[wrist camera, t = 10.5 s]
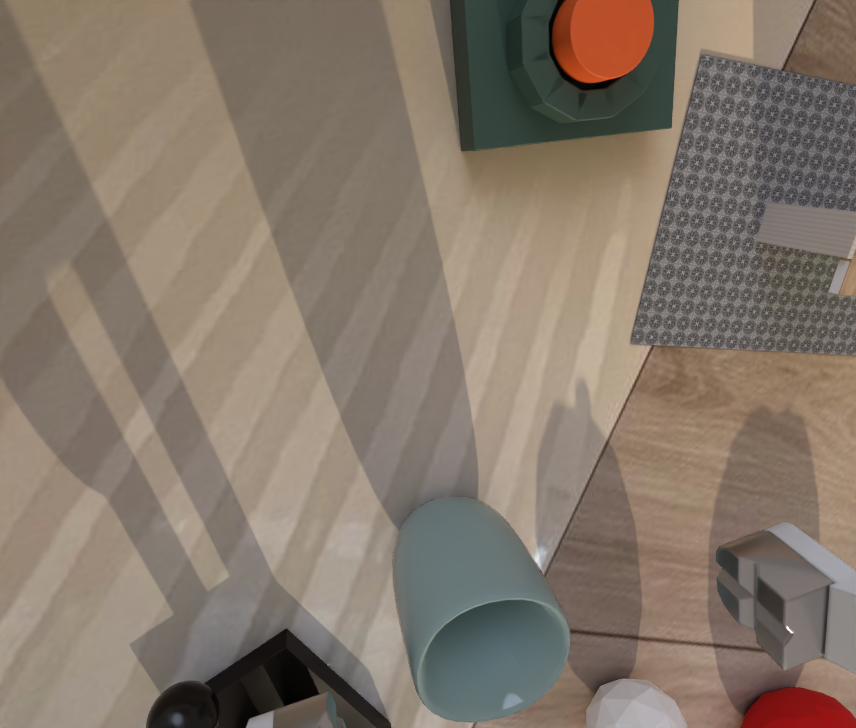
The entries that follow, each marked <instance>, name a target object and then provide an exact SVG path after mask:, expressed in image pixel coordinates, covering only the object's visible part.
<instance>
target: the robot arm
mask: <svg viewBox="0 0 856 728" xmlns="http://www.w3.org/2000/svg"><path fill="white" fill-rule="evenodd" d="M716 562H717V563H718V564H719V565H720V566H721V567H722V570H721V571H720V573H719V575H718V576H717V587H718V592H719V595H720V597H721V599H722V602H723V604H724V606H725V607H726V608H727V610H728V611H729V613H730V614H731V615H732V616H733V617H734V619H735V620H736V621H737V622H738V623H739V624H740V625H743V626H745V627H748V628H750V629H753V630H755V632H756V639H757V643H758V644H759V645H760V646H761V647H762V648H763V649H764V650H765V651H766V652H767V653H768V654H769V656H770V657H771V658H772V659H773V660H774V661H775V662H776V663H777V664H778V665H779V666H780V667H781V668H782V669H783V670H787V669H790V668H792V667H795V666H798V665H800V664H803V663H806V662H809V661H811V660H814V659H817V658H820V657H822V656H825V657H824V658H825V659H827V660H829V661H831V662H833V663H835V664H837V665H839V666H841V667H843V668H845V669H847V670H849V671H851V672H853V673H855V674H856V570H855V569H853V568H852V567H851V566H849V565H848V564H847V563H845V562H844V561H842V560H841V559H840V558H838V557H837V556H836V555H834V554H833V553H831V552H830V551H829V550H827V549H826V548H825V547H823V546H822V545H821V544H819V543H818V542H816V541H815V540H814V539H812V538H811V537H810V536H808V535H807V534H806V533H804V532H803V531H801V530H800V529H799V528H797V527H796V526H795V525H793V524H791V523H788V522H783V523H780V524H777V525H774V526H772V527H769V528H766V529H764V530H762V531H757V532H754V533H752V534H749V535H747V536H744V537H742V538H739V539H736V540H734V541H731V542H729V543H726V544H723V545H721V546H719V547H718V549H717V551H716ZM246 728H346V726H345V723H344V721H343V719H342V718H340V717H337V713H336V703H335V701H334V699H333V697H332V694H331V692H325V693H322V694H319V695H316V696H314V697H311V698H308V699H305V700H302V701H299V702H296V703H293V704H290V705H287V706H284V707H281V708H278V709H276V710H273V711H270V712H267V713H264V714H262V715H259V716H256V717H253V718H250V719H249V721H248V724H247V726H246Z"/></svg>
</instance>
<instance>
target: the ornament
mask: <svg viewBox="0 0 856 728" xmlns="http://www.w3.org/2000/svg"><path fill="white" fill-rule="evenodd" d="M586 728H688V727H687V723H686V721H685V720H684V718H683V716H682V714H681V712H680V710H679V708H678V706H677V704H676V702H675V701H674V700H673V699H671V698H670V697H669V696H668V695H666V694H665V693H664V692H663V691H661V690H660V689H659V688H657V687H656V686H655V685H654V684H652V683H651V682H650V681H649V680H640V679H618V680H615V681H612V682H610V683H607V684H604V685H601V686H600V687H599V689H598V690H597V692H596V694H595V696H594V697H593V699H592V701H591V703H590V704H589V706H588V708H587V709H586Z"/></svg>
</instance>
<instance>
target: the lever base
mask: <svg viewBox="0 0 856 728" xmlns="http://www.w3.org/2000/svg"><path fill="white" fill-rule="evenodd" d="M205 684H206V685H207V686H209V687H210V688H211V689H212V690H213V691H214V693H215V694H216V696H217V698H218V700H219V704H220V721H219V725H218V728H246V726H247V724H248V721H249V719H250V718H253V717H256V716H259V715H262V714H264V713H267V712H270V711H273V710H276V709H278V708H281V707H284V706H287V705H290V704H293V703H296V702H299V701H302V700H305V699H308V698H311V697H314V696H316V695H319V694H322V693H325V692H331V694H332V697H333V699H334V701H335V703H336V713H337V717H340V718H342V719H343V721H344V723H345V726H346V728H391V723H390V722H389V721H388V720H387V719H386V718H385V717H383V716H382V715H381V714H380V713H379V712H378V711H377V710H376V709H375V708H374V707H372V706H371V705H370V704H369V703H368V702H367V701H366V700H365V699H364V698H362V697H361V696H360V695H359V694H358V693H357V692H356V691H355V690H354V689H353V688H351V687H350V686H349V685H348V684H347V683H346V682H345V681H344V680H343V679H341V678H340V677H339V676H338V675H337V674H336V673H335V672H334V671H333V670H332V669H330V668H329V667H328V666H327V665H326V664H325V663H324V662H323V661H322V660H321V659H319V658H318V657H317V656H316V655H315V654H314V653H313V652H312V651H311V650H309V649H308V648H307V647H306V646H305V645H304V644H303V643H302V642H301V641H300V640H298V639H297V638H296V637H295V636H294V635H293V634H292V633H291V632H290V631H289V630H287V629H285V630H283V631H282V632H280V633H279V634H277V635H276V636H275V637H273V638H272V639H270V640H269V641H267V642H266V643H264V644H263V645H261V646H260V647H258V648H257V649H255V650H254V651H252V652H251V653H249V654H248V655H246V656H245V657H243V658H242V659H240V660H239V661H237V662H236V663H234V664H233V665H231V666H230V667H228V668H227V669H225V670H224V671H223V672H221V673H220V674H218V675H217V676H215V677H214V678H212V679H211V680H209V681H208V682H206V683H205Z"/></svg>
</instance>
